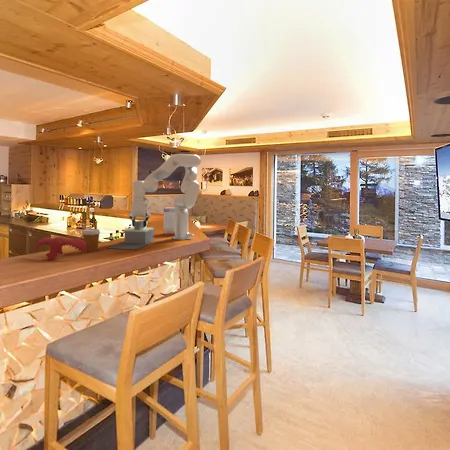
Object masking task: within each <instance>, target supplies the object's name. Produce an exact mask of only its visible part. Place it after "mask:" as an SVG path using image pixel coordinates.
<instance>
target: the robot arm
mask: <svg viewBox="0 0 450 450" xmlns="http://www.w3.org/2000/svg"><path fill="white" fill-rule="evenodd" d="M201 162H202V159H201V157H200V156H199V155H197V154H191V153H189V154H188V153H187V154H186V153H175V154H172V155H170V156H169V157H168V158H167V159H166V160H165V161H164V162H163V163H162V164H161V165H160V166H159V167H158V168H157V169H155V170H154V171H152V172H151V173H149V174H148V175H147V177H145V179H144V180H134V181H133V183H132V184H133V186H132V192H133V193H132V194H133V196H132V198H133V199H132V202H131V207H130V208H131V209H130V210H131V211H129V212H128V213H127V216H128V218H129V219H130V220H131V226H132V227H134V222H135V221H136V218H142V219H143V220H142V221H143V227H146V228H147V223H148V220H149V219H150V218H151V217H152V214H151V213H150V212H149V209H148V203H147V200H148V198H147V197H146V192H148V193H154V192H156V191H157V190H158V188H159V185H158V183H159V182H160V181H161V180H164V179H165V180H166V179H167V178H168V177H170V176H171V175H172V173H174V172H175V170H176V169H177V168H178V167H184V169H185V173H184V177H183V180H182V182H181V184H180V191H181V192H182V193H183V194H178V195H176V196H175V197H174V199H173V205H174V206H173V207H175V235H174V236H172V239H174V240H184V241H185V240H190V239H191V237H193V238H194V236H195V234H194V233H190V231H189V209H192V208H193V207H194V206H195V203H196V201H197V199H198V196H199V193H200V190H201V189H200V184H199V182H198V181H197V177H198V170H197V167H199V166H200V165H201Z"/></svg>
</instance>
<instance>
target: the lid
mask: <svg viewBox="0 0 450 450" xmlns="http://www.w3.org/2000/svg"><path fill="white" fill-rule="evenodd" d="M143 221H144V220H135V222H134V227H133V226H132V227H129V228H124V229H123V231H124V232H125V231H130V232H148V231H151V230H153V231H154V230H155V227H147V226H146V227H143Z"/></svg>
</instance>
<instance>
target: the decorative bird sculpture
mask: <svg viewBox="0 0 450 450" xmlns="http://www.w3.org/2000/svg"><path fill="white" fill-rule="evenodd" d="M44 245H46V246H47V245H48V247H49V250H50V251H48V252H47V253H46V254H45V256H46V258H47V260H50V261H52V260H54V261H55V259H56V257H59V255H62V257H64V256H65V254H64V253H63V246H68V247H72V248H74V249H75V250H78V251H80V253H81V254H82V253H86V252H87V251H86V249H87V244H86V242H85V241H84V239H81V238H79V237H77V238H67V237H62V236H56V237H53V238H52V237H51V236H47V237H44V238H42V239H40V240H38V241H36V243H35V244H34V247H33V249H32V250H33V251H35V250H36V249H37V248H38V247H40V246H44Z"/></svg>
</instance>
